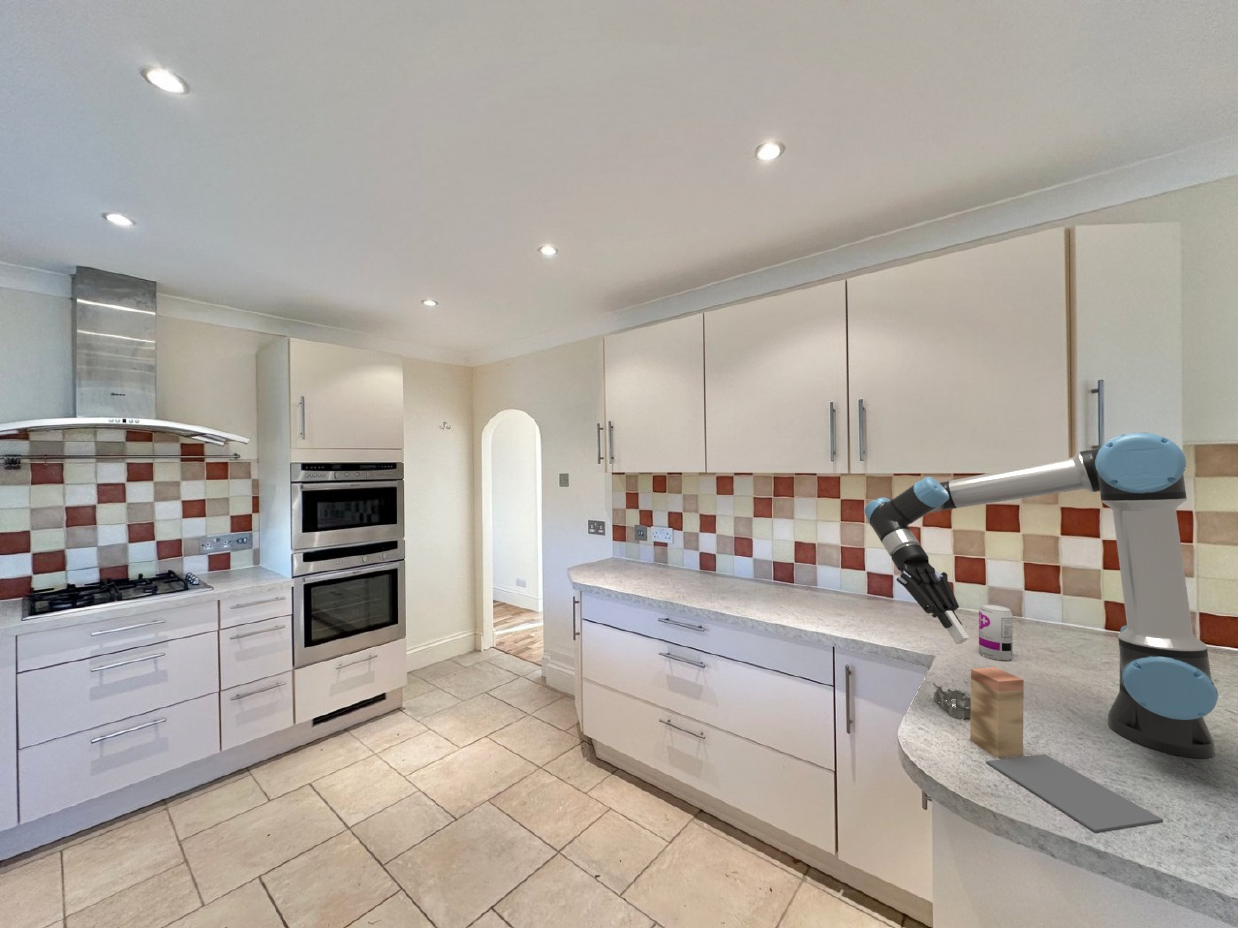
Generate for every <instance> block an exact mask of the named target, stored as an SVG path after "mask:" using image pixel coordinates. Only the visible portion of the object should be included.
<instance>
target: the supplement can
mask: <svg viewBox="0 0 1238 928" xmlns="http://www.w3.org/2000/svg"><path fill="white" fill-rule="evenodd" d="M978 615H979V616H978V652H979V653H980V655H982V656H983V655H984V656H983V657H985V656H986V657H985V658H987V657H988V659H990V658H994V659H999V660H998V661H1000V660H1008V661H1010V660H1011V659H1013V647H1014V645H1013V640H1014V638H1013V637H1014V636H1013V632H1014V631H1013V629H1014V624H1013V623H1014V616H1013V615H1014V614H1013V613H1012V611H1011V608H1009V607H1007V606H1002V605H998V604H990V603H989V604H988V603H987V604H985V603H984V604H981V606H980V608H979V609H978ZM994 659H993V660H994ZM1009 659H1010V660H1009Z"/></svg>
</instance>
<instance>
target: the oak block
mask: <svg viewBox="0 0 1238 928" xmlns="http://www.w3.org/2000/svg"><path fill="white" fill-rule="evenodd" d="M1024 682H1025V680H1024V678H1021V677H1019V676H1016V675H1014V674H1012V673H1009V672H1006V671H1004V670H1002V669H1000V668H999V667H992V666H991V667H981V668H971V669H970V694H971V718H970V727H969V728H970V730H969V731H970V732H969V733H970V734H969V735H970V737H969V738H970V739H969V741H970V742H971V743H972V744H974V745H976V746H978V747H979V748H981V749H983V750H984V751H986V752H988V753H989V754H991V755H993V756H994V757H995V758H998V759H1000V758H1001V759H1003V758H1012V757H1020V756H1023V755H1024V699H1025V698H1024V695H1025V694H1024V690H1025V689H1024V688H1025V687H1024V686H1025V685H1024V684H1025V683H1024Z"/></svg>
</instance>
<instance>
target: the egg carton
mask: <svg viewBox="0 0 1238 928" xmlns="http://www.w3.org/2000/svg"><path fill="white" fill-rule="evenodd" d="M932 685H933V686H934V687H935V688H936V691H935V692H934V693H933V697H934V701H935V703H938V702H940V703H939V704H940V705H941V706H942V707H943V708H942V707H941V708H942V709H944V708H945V709H944V710H946V709H948V710H947V711H949V712H948V715H949V716H951V717H953V716H955V717H954V718H957V719H959V720H962V719H963V720H962V721H964V720H965V718H968V719H971V692H969V691H968V690H958V689H954V690H951V688H948V689H947V691H945V690H943V689H942V688H943V687H941V686H939V685H937V684H935V683H934V682H933V683H932ZM952 699H956V700H955V704H956V705H955V706H956V707H955V706H953V707H952V704H954V703H953V702H952V701H951V700H952ZM946 700H947V701H946Z"/></svg>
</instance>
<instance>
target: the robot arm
mask: <svg viewBox="0 0 1238 928" xmlns="http://www.w3.org/2000/svg"><path fill="white" fill-rule="evenodd" d="M1186 459H1187V458H1186V456H1185V454H1184V452H1183V450H1182V449H1181V448H1180V447H1179V445H1177V443H1175V442H1174V441H1172V440H1171V439H1169V438H1167V437H1165V436H1163V435H1159V434H1156V433H1149V432H1132V433H1131V432H1130V433H1124V434H1121V435H1119V436H1115V437H1113V438H1111V439H1109V440H1107V442H1105V443H1104V444H1103V445H1102V446H1099V447H1096V448H1092V449H1091V448H1090V449H1088V450H1081V451H1077V452H1076V454H1075V455H1074V456H1072V457H1069V458H1064V459H1057V460H1053V461H1047V462H1041V463H1036V464H1032V465H1026V466H1022V467H1016V468H1010V469H1004V470H1000V471H995V472H990V473H988V472H987V473H985V474H979V475H974V476H973V475H972V476H968V477H963V478H957V479H953V480H949V481H943V482H942V481H941V482H939V481H938V480H936V479H935V478H934V477H932V476H926V477H924V478H922V479H921V480H918V481H916V482H915V483H914V484H913V485H912V486H910V487H908V488H907V489H905V490H904V491H903V492H902V493H900V494H899V495H897V496H896V497H894V498H893V499H889V498H887V497H877V498H876V499H873V500H871V501H870V502H868V503H867V504H866V505H865V507H864V511H863V512H864V516H865V517H866V519H867V521H868V523H869V525H870V527H871V528H872V529H873V531H874V533H875V534H876V536H877V537H878V539H879V540H880V542H881V544H882V545H883V547H884V548H885V550H886V552H887V553H888V556H889V557H891V561H892V562H893V564H894V566H895V567H896V568H897V570H898V571H900V573H901V574H900V575H898V577H897V578H896V581H897V583H899V584H900V585H901V586H903V587H904V588H905V590H906V591H907V592H908V593H909V594H910V595H911V596H912V598H913V599H914V600H915V601H916V602H917V604H918V605H919V606H920V607H921V608H922V610H923V611H924V612H925V613H926V614H928V615H929V614H931V615H930V616H931V617H932V618H937V619H938V620H939V621H940V624H941V625H942V627H943V628H944V629H946V630H947V632H948V633H949V636H950V637H951V638H952V640H953V642H954V643H955V644H956V645H958V644H963V643H965V642H966V641H968V640H969V639H970V636H969V635H968V633H967V632H966V630H965V629H964V627H963V626H962V622H961V620H960V619H959V617H958V615H957V614H956V613H955V611H956V610H957V609H959V608H960V605H959V603H958V601H957V598H956V596H955V594H954V591H953V590H952V589H953V588H952V587H951V585H950V582H949V579H948V577H949V576H948V574H947V572H945V571H943V572H942V573H940V572H938V571H936V569H935V568H934V566H932V565H931V564H930V562H929V555H928V554H927V552H926V551H925V550H924V548H923V547H922V545H920V544H921V543H920V542H919V540H918V539H917V537H916V536H915V534H914V533H913V531H912V530H911V529H910V527H909V525H911V524H913V523H914V522H916V521H918V520H919V519H921V518H922V517H924V516H926V515H928V514H930V513H936V512H941V511H948V510H953V509H954V510H955V509H961V508H966V507H973V506H979V505H986V504H995V503H999V502H1007V501H1014V500H1020V499H1021V500H1022V499H1027V498H1032V497H1033V498H1034V497H1041V496H1047V495H1054V494H1059V493H1066V492H1072V491H1073V492H1074V491H1079V490H1086V491H1088V492H1090V493H1096V492H1099V493H1100V501H1101V503H1103V504H1104V505H1105V506H1107V507H1109V508H1110V509H1111V510H1112V516H1113V523H1114V531H1115V539H1116V540H1115V541H1116V546H1117V555H1118V561H1119V562H1118V563H1119V570H1120V578H1121V588H1122V595H1123V603H1124V610H1125V611H1124V612H1125V618H1126V625H1123V626H1121V627H1120V631H1119V633H1118V634H1117V638H1118V639H1117V640H1118V648H1119V692H1118V694H1117V696H1116V698H1115V700H1114V702H1113V703H1112V705H1111V707H1110V710H1109V712H1108V714H1107V725H1108V726H1109V728H1110V729H1111V730H1113V731H1114V733H1117V734H1118V735H1120V736H1122V737H1123V738H1126V739H1128V740H1129V741H1131V742H1134V743H1136V744H1138V745H1139V744H1140V745H1142V746H1144V747H1148V748H1150V749H1153V750H1156V751H1160V752H1162V753H1163V752H1164V753H1166V754H1167V753H1168V754H1170V755H1171V754H1172V755H1175V756H1181V757H1185V758H1186V757H1187V758H1194V759H1208V758H1212V757H1214V755H1215V742H1214V740H1213V736H1212V735H1211V732H1210V730H1209V728H1208V726H1207V723H1206V720H1205V718H1204V717H1205V716H1207V715H1209V714H1210V713H1212V711H1214V709H1215V708H1216V705H1217V702H1218V698H1219V693H1218V688H1217V687H1216V686H1215V683H1214V681H1212V680H1213V678H1212V676H1211V675H1212V674H1211V673H1212V672H1211V667H1210V661H1209V660H1210V659H1209V652H1208V646H1207V644H1206V643H1205V642H1203V641H1201V640H1200V639H1199V638H1198V637H1196V636H1195V635H1194V633H1193V626H1192V619H1191V617H1192V616H1191V611H1190V603H1189V596H1188V595H1189V594H1188V588H1187V582H1186V581H1187V579H1186V574H1185V568H1184V567H1185V565H1184V559H1183V550H1182V544H1181V536H1180V529H1179V524H1178V523H1179V522H1178V515H1177V510H1178V509H1177V508H1179V506H1181V505H1182V504H1184V503H1185V502H1186V501H1187V500H1188V499H1187V492H1186V483H1185V477H1184V476H1185V475H1184V472H1185V471H1186V469H1185V468H1186V467H1187V460H1186Z"/></svg>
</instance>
